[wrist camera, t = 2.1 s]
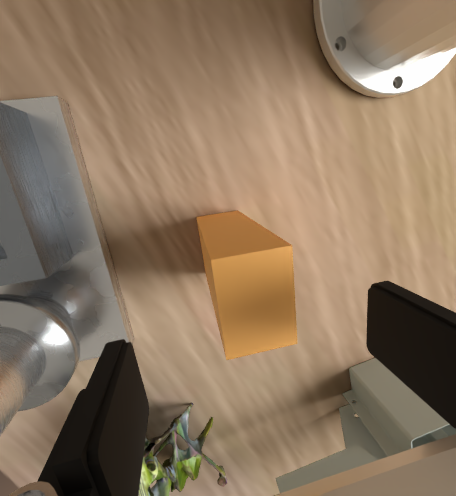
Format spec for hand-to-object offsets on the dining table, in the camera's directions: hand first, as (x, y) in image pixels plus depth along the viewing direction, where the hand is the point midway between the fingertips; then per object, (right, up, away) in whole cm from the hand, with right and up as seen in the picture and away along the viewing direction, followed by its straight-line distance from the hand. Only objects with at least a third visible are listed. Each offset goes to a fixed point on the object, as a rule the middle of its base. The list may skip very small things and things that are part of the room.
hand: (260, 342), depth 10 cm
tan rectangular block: (-2, +4, +12) cm, 13 cm away
